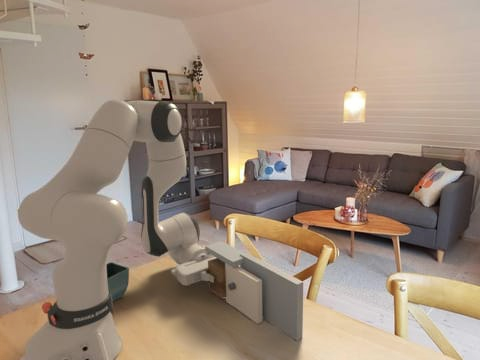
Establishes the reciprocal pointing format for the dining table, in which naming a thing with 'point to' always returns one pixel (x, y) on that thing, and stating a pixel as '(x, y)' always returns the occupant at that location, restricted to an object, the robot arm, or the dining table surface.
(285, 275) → the wall
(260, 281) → the door panel
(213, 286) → the walnut block
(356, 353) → the dining table surface
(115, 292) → the flower pot
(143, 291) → the dining table surface
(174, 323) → the dining table surface
